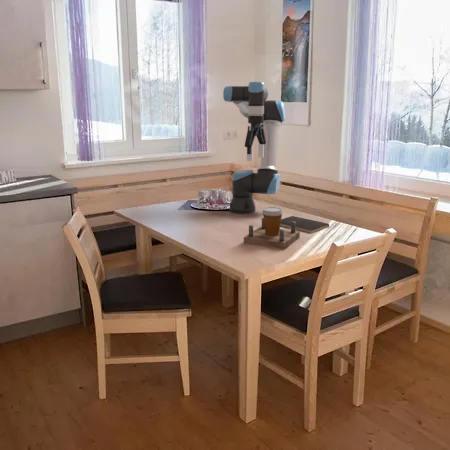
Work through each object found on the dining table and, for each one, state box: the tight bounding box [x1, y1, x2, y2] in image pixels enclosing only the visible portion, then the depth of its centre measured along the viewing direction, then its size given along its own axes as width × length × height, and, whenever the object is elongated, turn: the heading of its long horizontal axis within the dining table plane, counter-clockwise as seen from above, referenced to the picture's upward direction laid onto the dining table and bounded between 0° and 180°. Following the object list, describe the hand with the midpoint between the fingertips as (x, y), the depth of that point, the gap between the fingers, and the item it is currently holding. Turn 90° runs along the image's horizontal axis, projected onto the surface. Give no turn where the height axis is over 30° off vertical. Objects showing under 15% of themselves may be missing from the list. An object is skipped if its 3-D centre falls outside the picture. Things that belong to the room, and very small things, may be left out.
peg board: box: [243, 217, 301, 250], centre depth 231 cm, size 20×20×8 cm
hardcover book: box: [280, 215, 330, 234], centre depth 256 cm, size 16×23×2 cm
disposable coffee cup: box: [261, 206, 284, 236], centre depth 230 cm, size 10×10×12 cm
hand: (255, 159), depth 245 cm, fingers open, 13 cm apart
